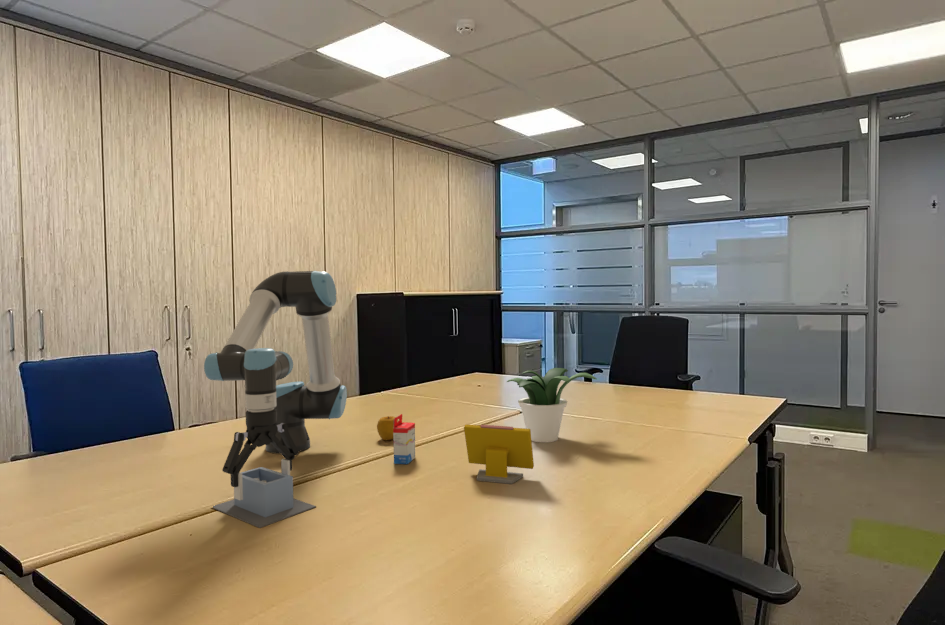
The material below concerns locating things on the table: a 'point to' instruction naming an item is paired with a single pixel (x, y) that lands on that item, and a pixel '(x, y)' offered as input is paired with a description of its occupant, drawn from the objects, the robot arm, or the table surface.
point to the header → (258, 519)
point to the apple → (386, 427)
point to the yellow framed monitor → (499, 451)
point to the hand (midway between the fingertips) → (263, 491)
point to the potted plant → (544, 403)
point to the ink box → (403, 441)
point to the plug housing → (266, 492)
